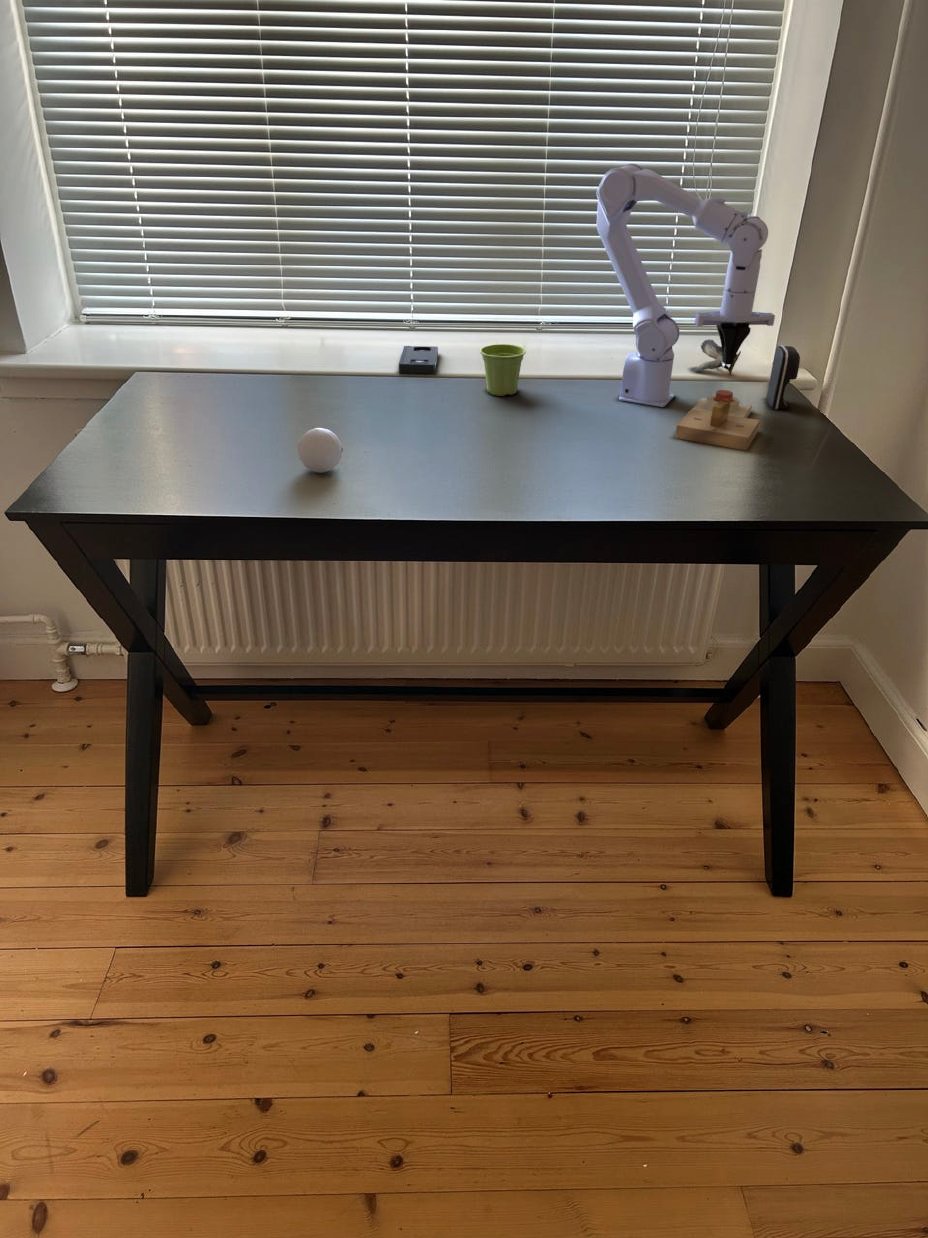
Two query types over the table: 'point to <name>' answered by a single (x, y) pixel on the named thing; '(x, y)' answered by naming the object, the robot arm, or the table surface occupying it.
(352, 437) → the table surface
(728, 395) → the bell button
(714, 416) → the thumb turn
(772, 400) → the battery charger
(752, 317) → the robot arm
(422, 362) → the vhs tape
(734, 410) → the bell block
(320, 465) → the white ball
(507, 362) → the plant pot
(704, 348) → the eagle figurine
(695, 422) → the plate
